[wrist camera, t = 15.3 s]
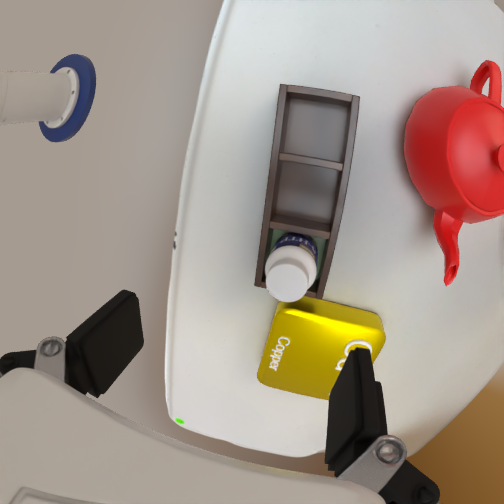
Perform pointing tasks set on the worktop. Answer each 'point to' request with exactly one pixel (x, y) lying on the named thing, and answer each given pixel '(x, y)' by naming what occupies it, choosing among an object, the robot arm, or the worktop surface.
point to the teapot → (458, 157)
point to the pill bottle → (291, 266)
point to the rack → (308, 173)
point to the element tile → (315, 344)
